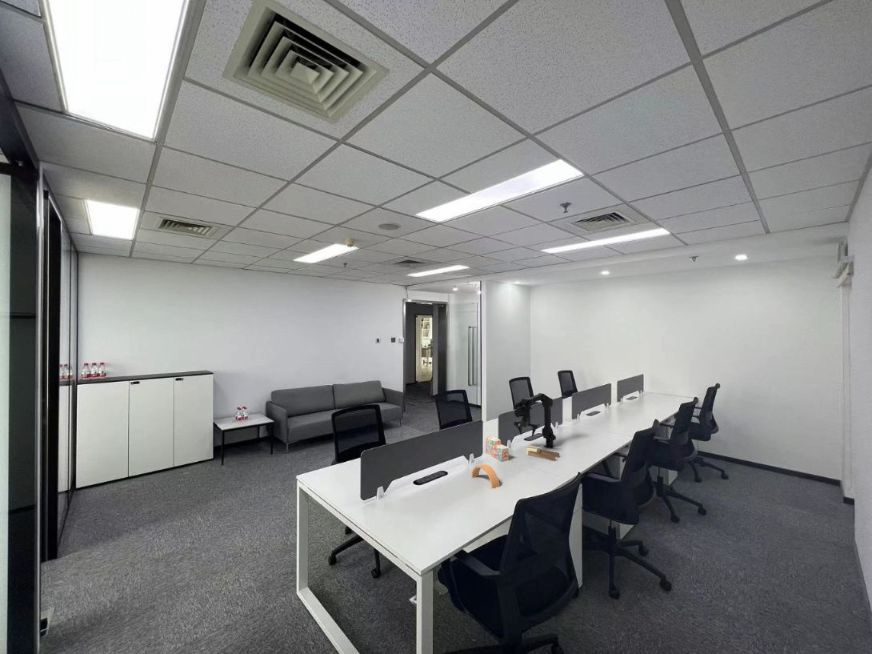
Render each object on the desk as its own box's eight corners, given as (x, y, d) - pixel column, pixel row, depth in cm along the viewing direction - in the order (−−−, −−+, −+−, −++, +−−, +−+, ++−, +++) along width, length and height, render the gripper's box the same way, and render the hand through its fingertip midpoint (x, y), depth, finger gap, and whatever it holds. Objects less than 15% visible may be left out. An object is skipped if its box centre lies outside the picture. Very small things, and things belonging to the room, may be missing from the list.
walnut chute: (533, 451, 270) (533, 447, 270) (559, 456, 258) (559, 452, 258) (528, 455, 262) (528, 451, 262) (554, 461, 250) (554, 456, 250)
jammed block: (529, 451, 270) (529, 445, 270) (539, 453, 265) (539, 447, 265) (526, 453, 265) (526, 447, 265) (536, 455, 260) (536, 449, 260)
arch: (492, 489, 206) (492, 472, 207) (471, 477, 223) (471, 462, 223) (499, 486, 210) (499, 470, 210) (478, 475, 226) (478, 460, 227)
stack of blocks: (508, 460, 252) (508, 443, 252) (501, 462, 249) (501, 444, 250) (492, 451, 271) (492, 435, 272) (485, 452, 269) (485, 436, 269)
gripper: (510, 415, 265) (511, 436, 265) (534, 419, 254) (535, 440, 254) (516, 412, 274) (516, 432, 274) (539, 416, 263) (540, 436, 263)
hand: (526, 435), depth 266 cm, fingers open, 9 cm apart
